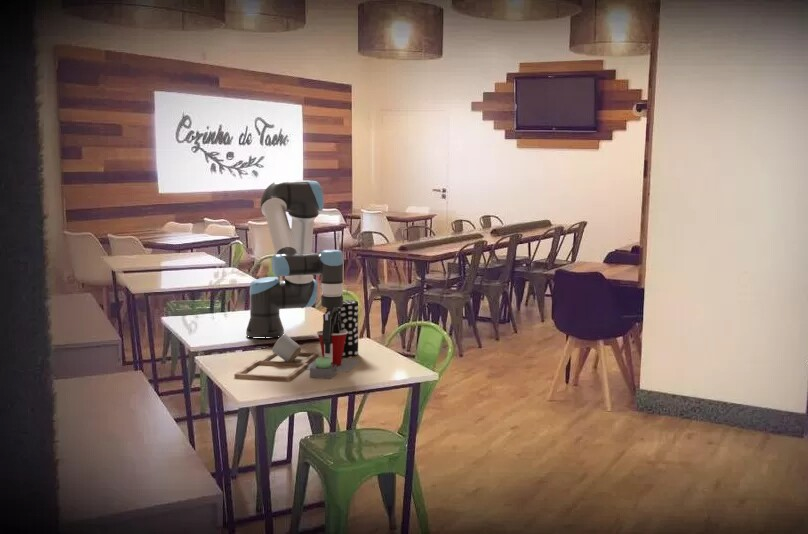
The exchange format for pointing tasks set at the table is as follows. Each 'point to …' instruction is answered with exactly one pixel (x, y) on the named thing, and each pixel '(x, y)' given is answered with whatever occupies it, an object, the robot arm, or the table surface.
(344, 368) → the mat
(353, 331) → the white-spotted black cylinder
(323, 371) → the button base
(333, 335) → the plastic cup
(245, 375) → the wooden rectangular frame
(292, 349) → the ceramic mug
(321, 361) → the button
